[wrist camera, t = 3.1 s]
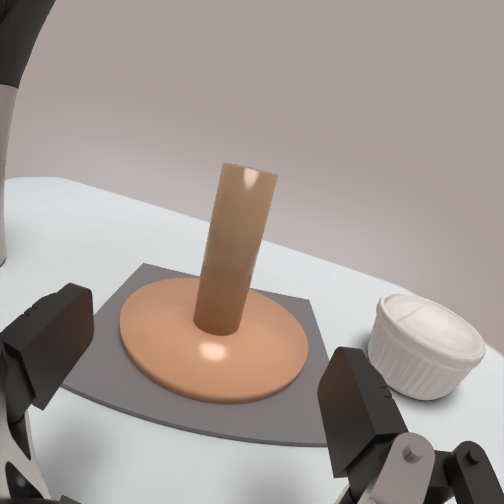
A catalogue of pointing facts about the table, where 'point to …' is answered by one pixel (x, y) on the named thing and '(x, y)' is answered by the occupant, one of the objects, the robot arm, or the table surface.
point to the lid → (218, 311)
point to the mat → (192, 411)
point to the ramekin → (422, 346)
